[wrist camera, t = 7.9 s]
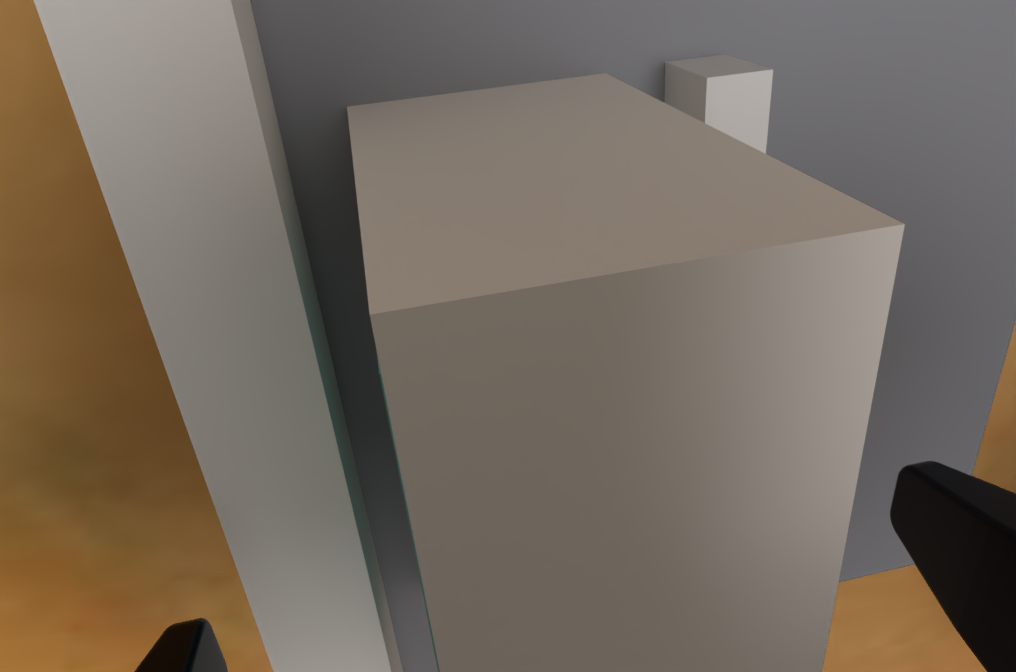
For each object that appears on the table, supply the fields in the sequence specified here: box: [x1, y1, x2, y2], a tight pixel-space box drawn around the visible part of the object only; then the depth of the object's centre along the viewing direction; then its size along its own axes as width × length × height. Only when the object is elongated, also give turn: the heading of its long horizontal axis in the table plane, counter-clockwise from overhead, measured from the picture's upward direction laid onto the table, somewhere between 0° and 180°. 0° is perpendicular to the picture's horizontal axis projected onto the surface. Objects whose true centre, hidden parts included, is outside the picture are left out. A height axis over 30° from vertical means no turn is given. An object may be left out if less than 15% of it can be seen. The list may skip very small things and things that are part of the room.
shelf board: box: [34, 0, 1016, 672], centre depth 12 cm, size 24×16×4 cm, turn 5°
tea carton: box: [347, 73, 905, 672], centre depth 11 cm, size 4×10×7 cm, turn 5°
